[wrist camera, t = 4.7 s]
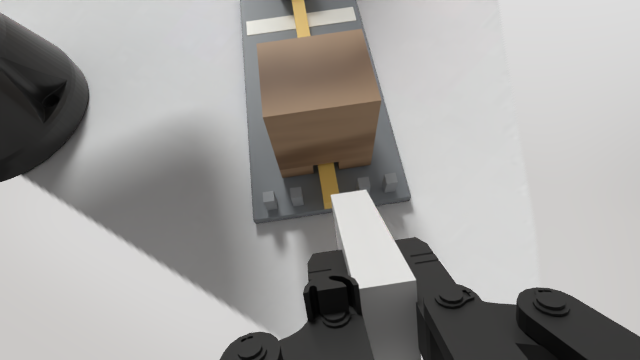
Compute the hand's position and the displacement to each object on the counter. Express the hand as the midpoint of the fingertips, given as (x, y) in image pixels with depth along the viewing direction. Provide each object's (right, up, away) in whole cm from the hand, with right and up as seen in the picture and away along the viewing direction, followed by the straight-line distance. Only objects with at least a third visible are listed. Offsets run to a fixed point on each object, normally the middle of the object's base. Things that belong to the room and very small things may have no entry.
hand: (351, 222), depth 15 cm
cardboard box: (-1, +5, +14) cm, 15 cm away
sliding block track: (-2, +11, +18) cm, 21 cm away
